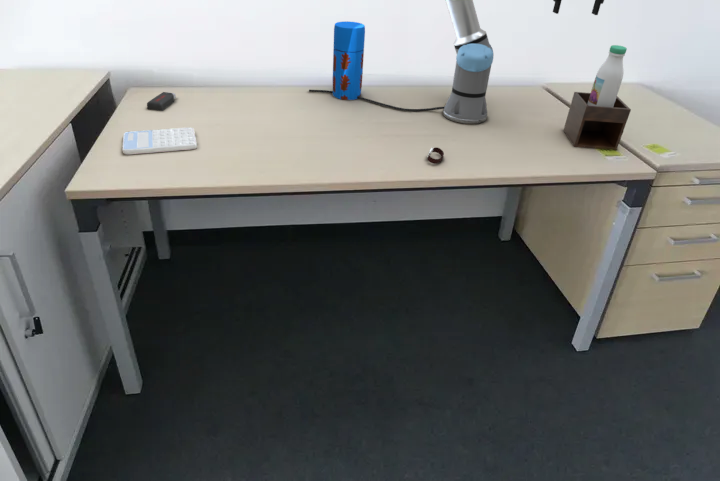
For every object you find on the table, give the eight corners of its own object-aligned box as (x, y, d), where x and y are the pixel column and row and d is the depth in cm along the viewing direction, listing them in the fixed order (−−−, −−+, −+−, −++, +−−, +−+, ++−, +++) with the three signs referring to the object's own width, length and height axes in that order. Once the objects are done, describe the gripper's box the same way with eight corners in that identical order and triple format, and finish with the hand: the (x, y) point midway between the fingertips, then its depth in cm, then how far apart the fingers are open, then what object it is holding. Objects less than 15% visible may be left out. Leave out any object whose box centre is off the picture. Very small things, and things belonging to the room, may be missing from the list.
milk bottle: (611, 109, 172) (633, 46, 161) (610, 117, 166) (632, 51, 155) (587, 105, 174) (606, 42, 163) (584, 112, 168) (604, 47, 157)
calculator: (197, 149, 153) (196, 143, 152) (122, 155, 147) (121, 149, 146) (194, 131, 164) (193, 125, 162) (124, 136, 158) (123, 130, 157)
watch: (430, 153, 160) (432, 142, 158) (445, 156, 159) (447, 145, 157) (423, 163, 154) (424, 151, 152) (439, 166, 153) (440, 155, 151)
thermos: (357, 101, 194) (361, 29, 180) (329, 98, 195) (331, 26, 181) (363, 92, 203) (367, 23, 188) (336, 88, 204) (338, 20, 190)
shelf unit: (574, 146, 170) (586, 106, 163) (563, 130, 182) (574, 91, 174) (616, 150, 170) (631, 109, 162) (603, 133, 181) (616, 94, 174)
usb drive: (147, 109, 176) (146, 101, 175) (164, 97, 186) (163, 89, 185) (162, 111, 176) (160, 103, 174) (178, 99, 186) (177, 91, 184)
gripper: (561, -62, 157) (543, 14, 169) (639, -58, 160) (616, 17, 172) (551, -65, 163) (534, 9, 175) (626, -60, 166) (605, 12, 178)
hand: (575, 13), depth 174 cm, fingers open, 13 cm apart
